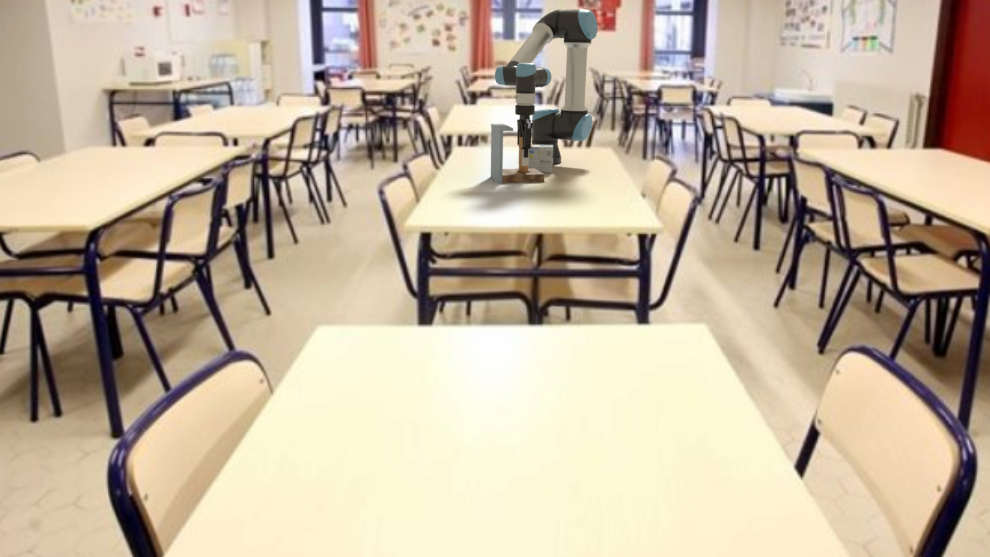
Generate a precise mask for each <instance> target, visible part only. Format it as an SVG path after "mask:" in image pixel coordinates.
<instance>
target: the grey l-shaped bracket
mask: <svg viewBox="0 0 990 557" xmlns="http://www.w3.org/2000/svg"><path fill="white" fill-rule="evenodd" d="M490 130H491V131H490V132H491V133H490V136H491V137H490V178H492V180H494V181H496V182H497V183H498V184H503V183H502V172H503V169H504V167H503V162H504V161H503V160H504V158H503V156H504V153H503V152H504V132H512V131H514V127H512V126H509V125H507V124H505V123H491V124H490Z"/></svg>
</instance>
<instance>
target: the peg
mask: <svg viewBox="0 0 990 557" xmlns="http://www.w3.org/2000/svg"><path fill="white" fill-rule="evenodd" d="M521 148H523V137H519V146H518V169H519V173H528V166H521V163H522V149H521Z"/></svg>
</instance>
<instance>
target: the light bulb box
mask: <svg viewBox="0 0 990 557" xmlns="http://www.w3.org/2000/svg"><path fill="white" fill-rule="evenodd" d="M528 168H535V169H536V170H538V171H540V172H542V173H549V174H550V173H553V171H554V170H553V168H554V164H553V145H531V148H530V149H529V166H528Z"/></svg>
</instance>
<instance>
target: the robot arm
mask: <svg viewBox="0 0 990 557" xmlns="http://www.w3.org/2000/svg"><path fill="white" fill-rule="evenodd" d="M597 34H598V21H597V17H596V16H595V14H594V12H593V11H592V10H590V9H582V8H581V9H556V10H555V9H554V10H552V11H550V12H549V13H547V14H546V15H544V16H543V17H541V18H540V19H539V20H538V21H537V22H536V23H535V25H533V27H532V30H531V33H530V35H529V36H528V37H527V38H526V40H525V41H524V42H523V43H522V45H521V46H520V47H519V48H518V50H517V51H516V52H515V54H514V55H513V56H512V58H511V59H510V60H509V61H508V62H507V64H506V65H499V66H497V67H496V69H495V71H494V79H495V82H496V84H497V85H499V86H505V87H515V95H514V99H515V106H514V107H515V108H514V110H515V111H514V114H515V115H517V116H519V119H517V120H516V124H517V129H516V130H517V132H516V133H517V136H516V138H517V140H516V142H517V143H516V144H517V146H518V147H519V137H523V148H521V149H522V163H521V166H529V149H530V148H531V145H553V165H555V164H560V163H562V155H561V152H560V151H561V150H560V147H559V140H562V141H563V140H564V141H573V142H577V141H578V142H583V141H586V140H587V138H588V137H590V136H589V135H590V134H591V132H592V128H593V123H594V122H593V116H592V114H589V113H588V112H589V109H588V107H586V86H587V85H586V83H587V67H588V66H587V65H588V64H587V62H588V48H589V46H591V45H592V40H594V39H595V38H596V37H597ZM555 39H563V44H564V45H565V46H566V64H565V86H564V87H565V88H564V91H565V92H564V104H563V106H562V107H561V108H560V109H559V108H547V109H546V108H545V109H537V110H535V108H536V106H535V103H536V88H544V87H547V86H548V85H549V84H550V83H551V81H552V73H551V71H550V69H548V68H547V67H543V66H539V67H536V66H537V65H536V64H535V63H533V62H534V61H535V60H536V58H537V57H538V55H539V54H540V53H541V52H542V50H543V49H544V48H545V46H546V45H548V44H550V43H551V42H552V41H553V40H555ZM530 116H532V117H530ZM531 118H532V119H531Z"/></svg>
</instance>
